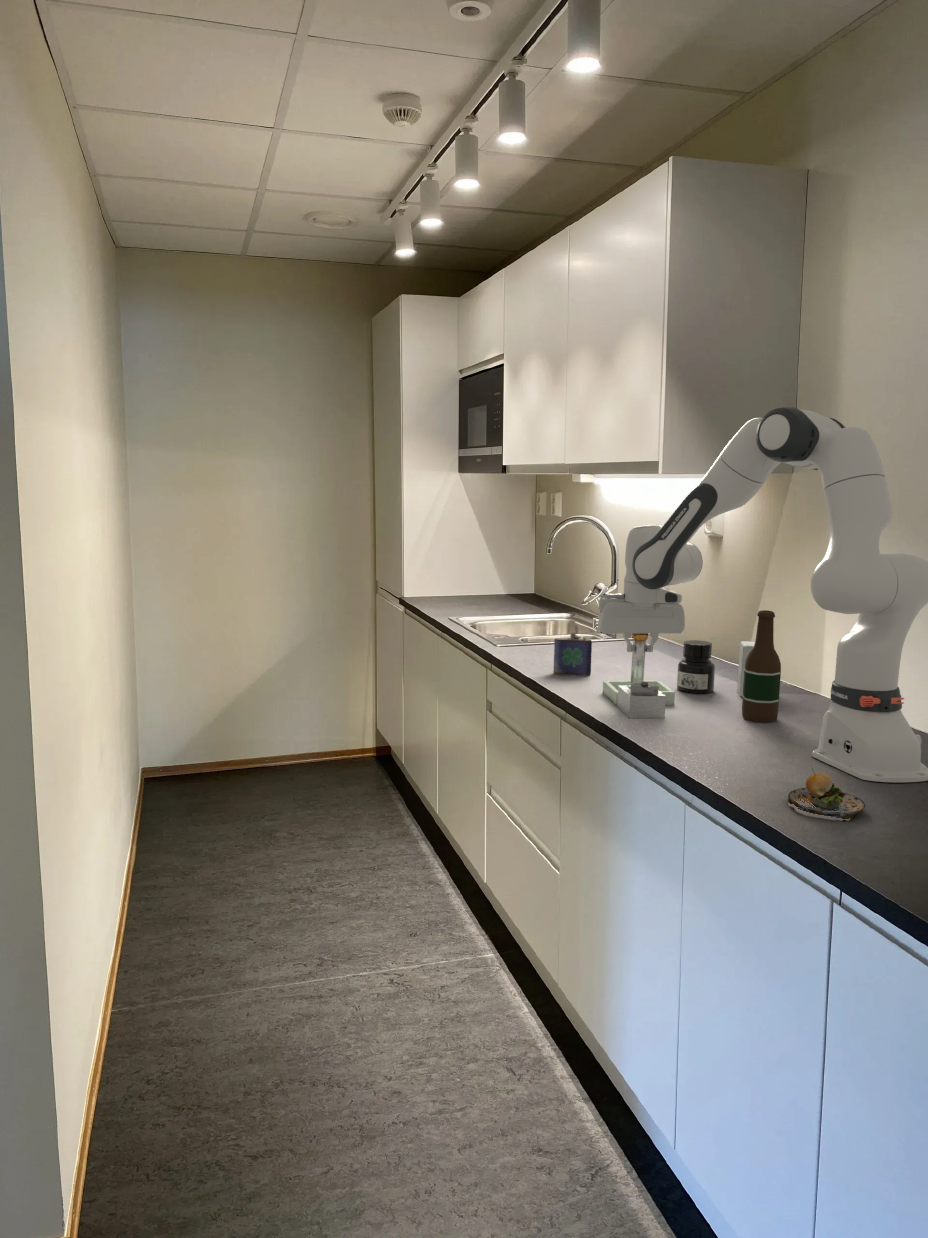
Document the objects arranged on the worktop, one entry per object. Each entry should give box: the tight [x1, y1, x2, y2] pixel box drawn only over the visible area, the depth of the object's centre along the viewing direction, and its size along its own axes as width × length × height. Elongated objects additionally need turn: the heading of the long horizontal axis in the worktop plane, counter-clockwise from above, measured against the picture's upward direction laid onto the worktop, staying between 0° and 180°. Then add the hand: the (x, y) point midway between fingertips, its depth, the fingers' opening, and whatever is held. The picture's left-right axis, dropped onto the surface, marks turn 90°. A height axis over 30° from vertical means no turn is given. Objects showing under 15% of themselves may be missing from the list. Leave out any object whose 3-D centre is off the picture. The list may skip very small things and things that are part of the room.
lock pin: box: [630, 633, 649, 684], centre depth 221 cm, size 4×4×12 cm
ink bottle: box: [676, 639, 716, 694], centre depth 231 cm, size 10×9×12 cm
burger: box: [787, 765, 866, 820], centre depth 151 cm, size 12×12×8 cm
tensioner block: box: [616, 682, 666, 719], centre depth 209 cm, size 10×8×7 cm
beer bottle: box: [741, 609, 782, 724], centre depth 204 cm, size 8×8×24 cm
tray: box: [602, 679, 676, 706], centre depth 222 cm, size 12×14×3 cm
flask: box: [553, 630, 593, 677], centre depth 247 cm, size 10×3×12 cm, turn 79°
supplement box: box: [736, 640, 755, 698], centre depth 227 cm, size 7×7×13 cm
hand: (639, 651), depth 220 cm, fingers closed on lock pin, 3 cm apart
